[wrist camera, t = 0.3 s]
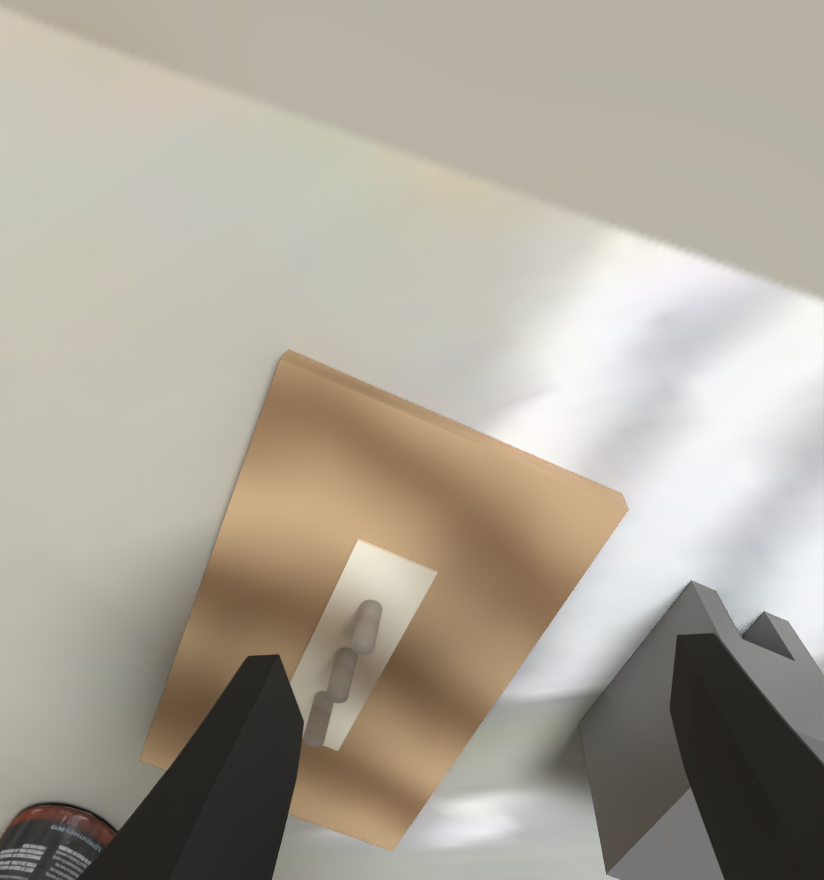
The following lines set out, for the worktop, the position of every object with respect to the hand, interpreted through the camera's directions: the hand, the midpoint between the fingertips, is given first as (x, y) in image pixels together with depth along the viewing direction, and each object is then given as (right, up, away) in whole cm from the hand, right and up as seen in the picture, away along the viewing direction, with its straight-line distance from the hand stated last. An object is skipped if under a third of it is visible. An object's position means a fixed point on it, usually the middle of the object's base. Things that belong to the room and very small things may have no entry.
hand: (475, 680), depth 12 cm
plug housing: (+9, -5, +13) cm, 16 cm away
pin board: (-3, -3, +13) cm, 14 cm away
